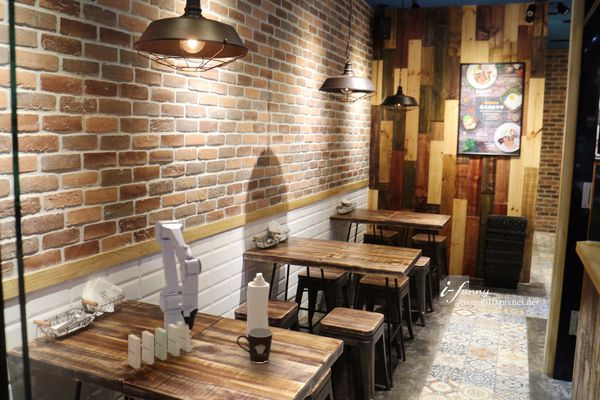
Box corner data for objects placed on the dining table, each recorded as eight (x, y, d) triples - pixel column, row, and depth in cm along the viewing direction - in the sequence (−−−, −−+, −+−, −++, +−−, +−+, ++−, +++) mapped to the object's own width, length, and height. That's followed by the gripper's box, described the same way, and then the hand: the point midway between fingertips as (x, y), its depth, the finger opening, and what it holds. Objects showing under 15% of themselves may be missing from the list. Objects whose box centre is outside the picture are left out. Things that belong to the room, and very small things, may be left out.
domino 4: (171, 350, 184) (172, 323, 183) (179, 355, 180) (180, 327, 179) (167, 351, 183) (168, 324, 181) (175, 356, 179) (175, 328, 178)
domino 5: (183, 346, 187) (180, 321, 185) (191, 350, 184) (188, 325, 182) (179, 348, 186) (176, 322, 184) (187, 352, 183) (184, 326, 180)
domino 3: (159, 354, 180) (159, 327, 179) (166, 359, 177) (167, 331, 175) (155, 355, 179) (155, 328, 178) (162, 360, 176) (162, 332, 174)
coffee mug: (275, 357, 182) (276, 330, 181) (266, 367, 174) (267, 338, 173) (245, 351, 186) (246, 324, 185) (234, 360, 178) (235, 333, 177)
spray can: (236, 337, 198) (238, 274, 195) (255, 330, 207) (257, 269, 204) (259, 345, 191) (261, 280, 188) (277, 337, 200) (279, 275, 197)
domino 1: (132, 362, 173) (132, 334, 172) (140, 367, 170) (140, 338, 168) (128, 364, 172) (128, 335, 171) (135, 369, 168) (135, 339, 167)
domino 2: (146, 358, 177) (146, 330, 175) (153, 363, 173) (154, 334, 172) (141, 359, 175) (142, 331, 174) (149, 364, 172) (149, 336, 171)
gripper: (182, 286, 190) (181, 321, 192) (174, 298, 176) (174, 336, 178) (201, 286, 191) (200, 321, 192) (195, 298, 176) (195, 336, 178)
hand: (189, 329), depth 185 cm, fingers closed
